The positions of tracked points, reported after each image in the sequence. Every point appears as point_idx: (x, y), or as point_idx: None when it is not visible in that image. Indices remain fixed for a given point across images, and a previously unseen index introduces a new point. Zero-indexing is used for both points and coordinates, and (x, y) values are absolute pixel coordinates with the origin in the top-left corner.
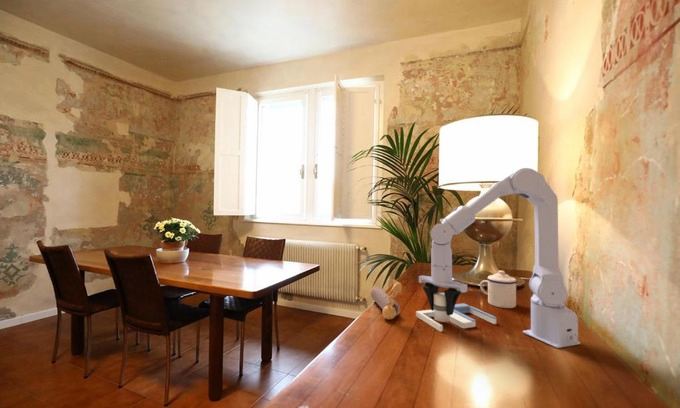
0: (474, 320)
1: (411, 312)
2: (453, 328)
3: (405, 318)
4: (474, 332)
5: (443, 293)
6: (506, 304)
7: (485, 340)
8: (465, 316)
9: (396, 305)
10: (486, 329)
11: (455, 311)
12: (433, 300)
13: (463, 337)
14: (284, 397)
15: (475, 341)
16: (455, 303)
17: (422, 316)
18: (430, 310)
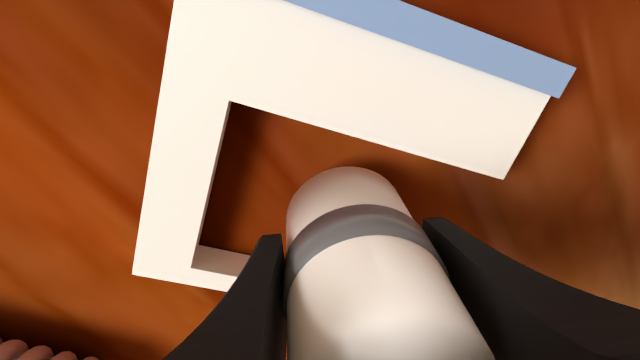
0: (568, 78)
1: (53, 222)
2: (437, 210)
3: (148, 324)
4: (560, 156)
5: (380, 350)
6: None
7: (637, 201)
8: (480, 62)
9: None
10: (616, 33)
11: (346, 12)
12: (279, 338)
13: (531, 261)
14: None
15: (594, 252)
16: (514, 265)
17: (227, 285)
18: (167, 165)
